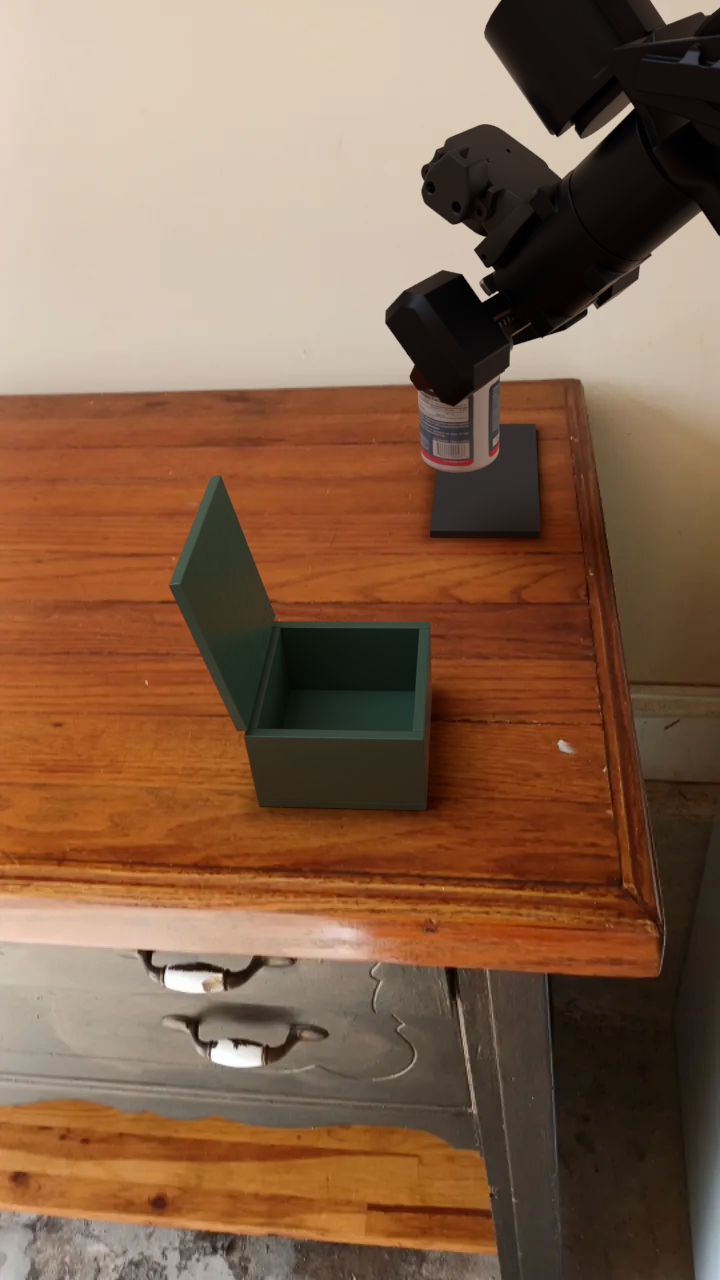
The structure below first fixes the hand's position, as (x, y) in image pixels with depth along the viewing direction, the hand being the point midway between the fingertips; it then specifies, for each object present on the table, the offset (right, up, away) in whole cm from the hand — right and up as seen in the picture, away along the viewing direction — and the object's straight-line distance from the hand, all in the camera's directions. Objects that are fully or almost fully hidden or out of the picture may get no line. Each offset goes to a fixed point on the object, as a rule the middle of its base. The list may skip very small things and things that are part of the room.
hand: (441, 366), depth 61 cm
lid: (-12, -16, -13) cm, 23 cm away
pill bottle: (+1, -5, +3) cm, 6 cm away
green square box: (-6, -24, -6) cm, 25 cm away
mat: (+5, -5, +15) cm, 16 cm away
